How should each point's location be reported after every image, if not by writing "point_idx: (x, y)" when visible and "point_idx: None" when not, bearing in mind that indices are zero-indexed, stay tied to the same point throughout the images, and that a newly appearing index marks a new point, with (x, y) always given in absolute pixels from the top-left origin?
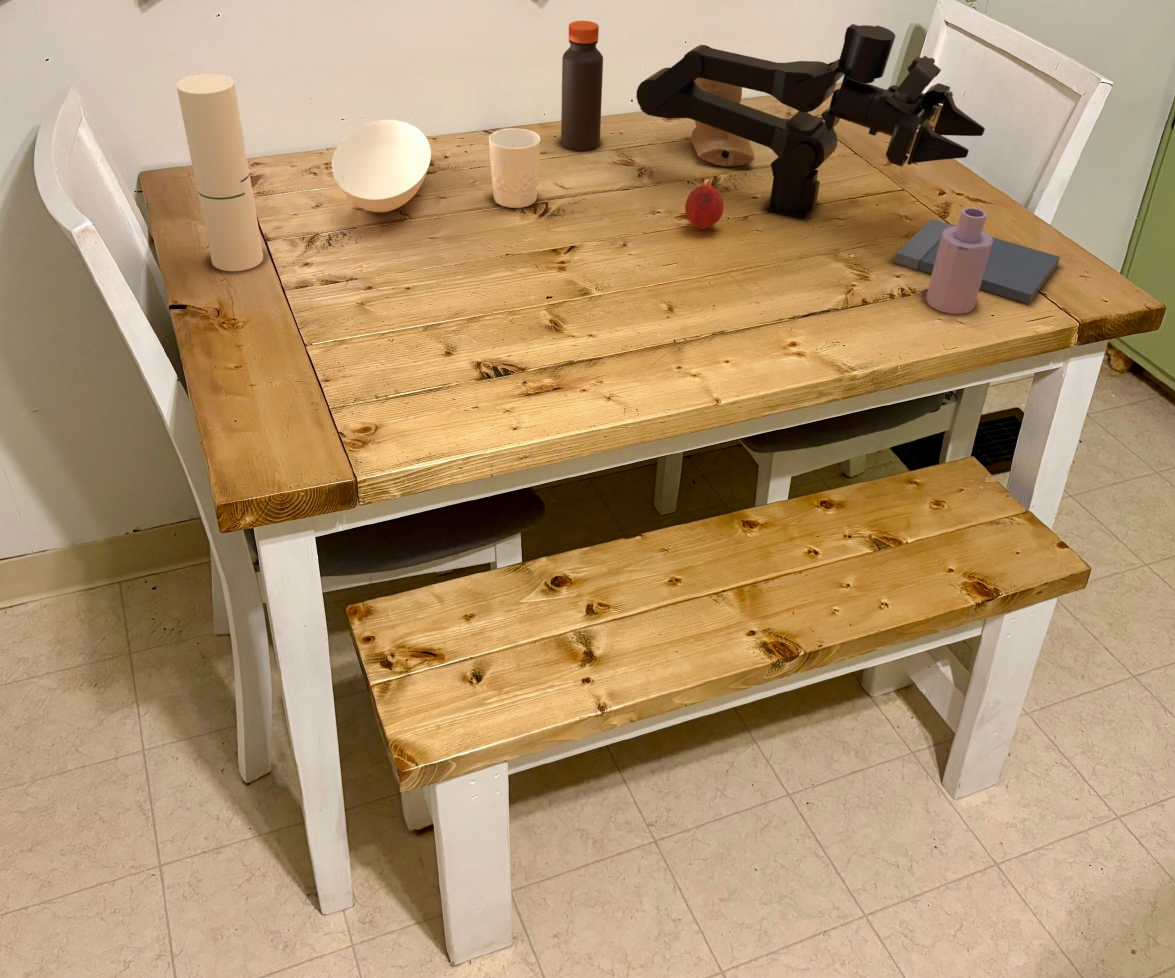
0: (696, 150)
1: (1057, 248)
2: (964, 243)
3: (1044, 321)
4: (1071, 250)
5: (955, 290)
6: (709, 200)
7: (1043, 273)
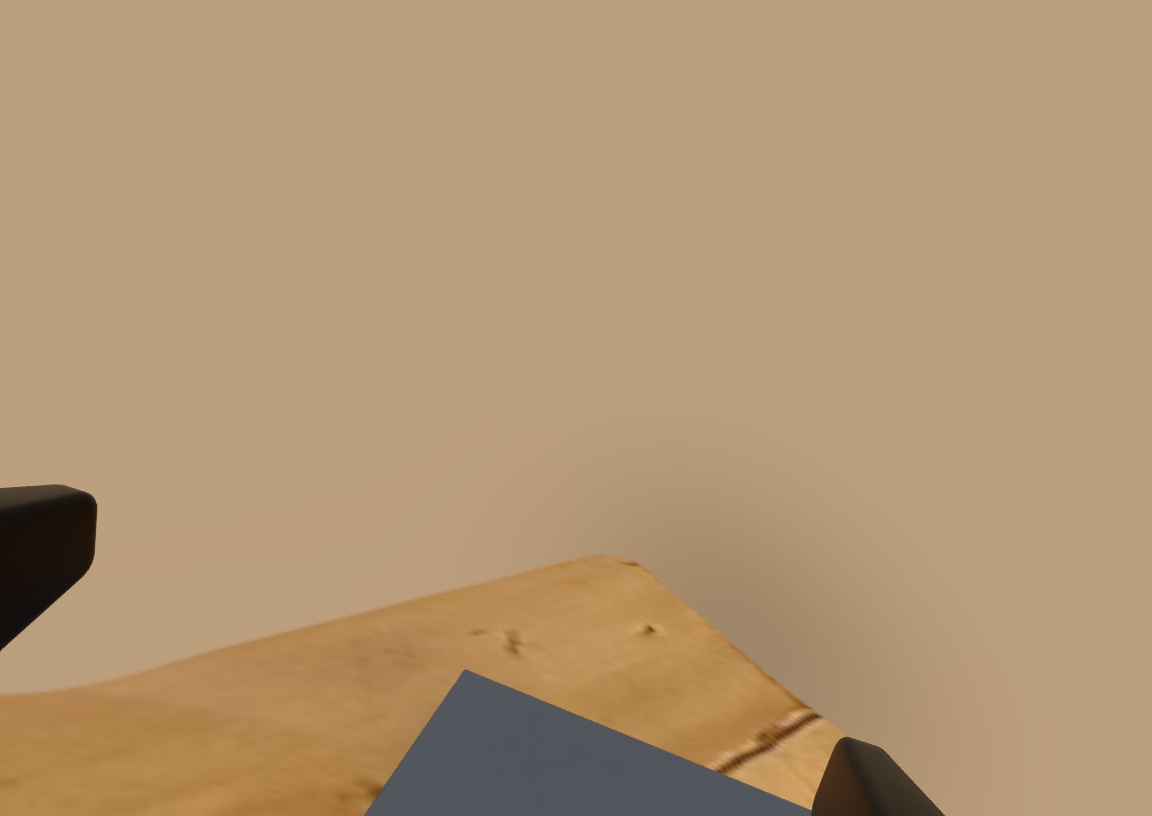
0: None
1: (305, 671)
2: None
3: None
4: (320, 636)
5: None
6: None
7: (626, 744)
